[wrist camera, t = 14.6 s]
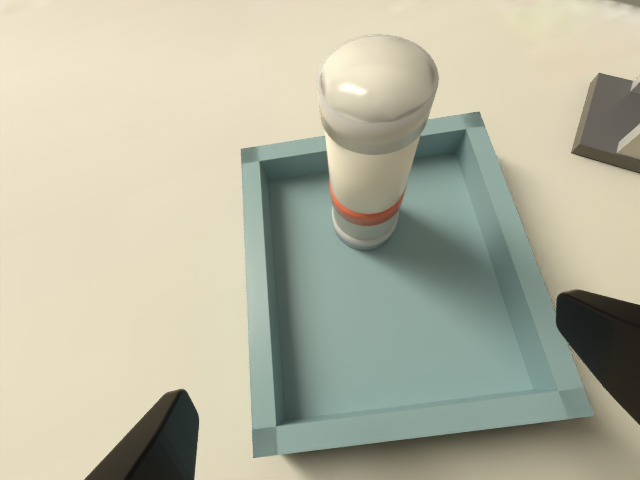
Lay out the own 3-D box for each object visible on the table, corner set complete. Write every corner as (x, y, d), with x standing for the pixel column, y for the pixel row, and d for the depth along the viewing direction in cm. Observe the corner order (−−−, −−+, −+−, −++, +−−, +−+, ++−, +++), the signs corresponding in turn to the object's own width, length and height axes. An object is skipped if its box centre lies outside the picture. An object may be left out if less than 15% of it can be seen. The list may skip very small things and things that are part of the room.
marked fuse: (408, 219, 23) (464, 70, 12) (366, 263, 22) (383, 147, 11) (361, 183, 24) (370, 18, 13) (320, 223, 23) (292, 83, 12)
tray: (553, 409, 19) (595, 416, 16) (269, 444, 20) (253, 457, 16) (463, 144, 26) (479, 111, 23) (254, 176, 26) (240, 149, 23)
